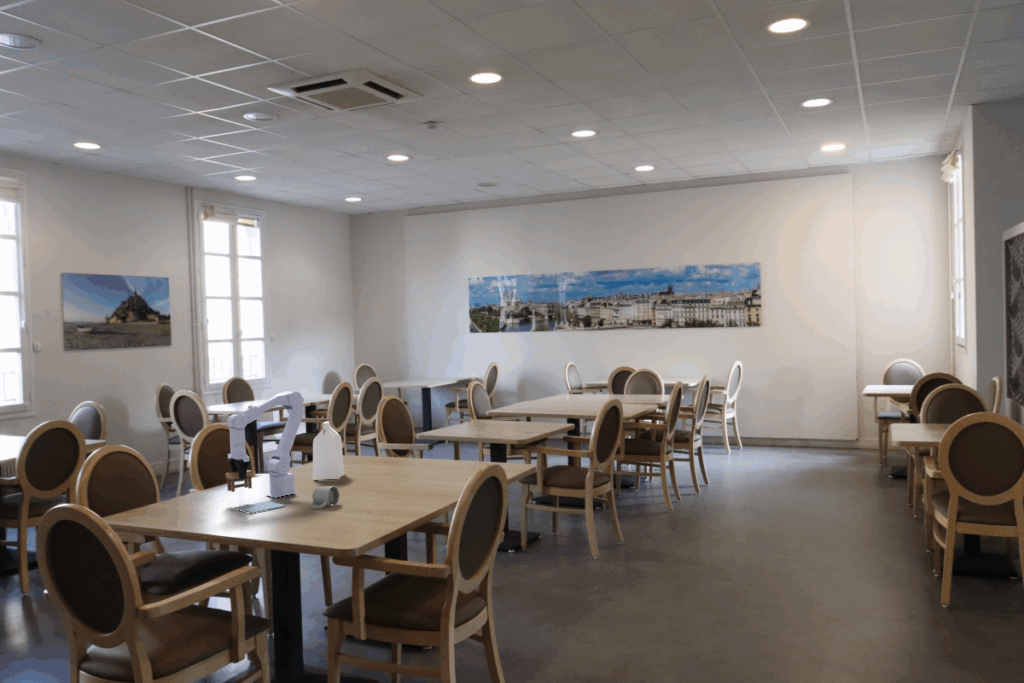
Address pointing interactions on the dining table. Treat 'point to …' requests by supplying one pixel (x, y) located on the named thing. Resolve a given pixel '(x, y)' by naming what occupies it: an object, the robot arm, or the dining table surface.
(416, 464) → the dining table surface
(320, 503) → the ceramic mug
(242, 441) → the robot arm
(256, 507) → the mat
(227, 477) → the stool
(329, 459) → the milk
